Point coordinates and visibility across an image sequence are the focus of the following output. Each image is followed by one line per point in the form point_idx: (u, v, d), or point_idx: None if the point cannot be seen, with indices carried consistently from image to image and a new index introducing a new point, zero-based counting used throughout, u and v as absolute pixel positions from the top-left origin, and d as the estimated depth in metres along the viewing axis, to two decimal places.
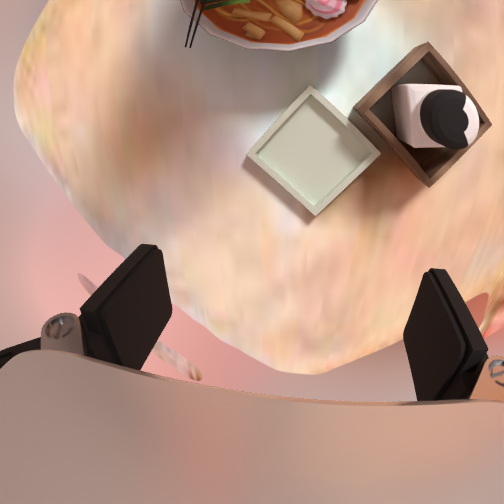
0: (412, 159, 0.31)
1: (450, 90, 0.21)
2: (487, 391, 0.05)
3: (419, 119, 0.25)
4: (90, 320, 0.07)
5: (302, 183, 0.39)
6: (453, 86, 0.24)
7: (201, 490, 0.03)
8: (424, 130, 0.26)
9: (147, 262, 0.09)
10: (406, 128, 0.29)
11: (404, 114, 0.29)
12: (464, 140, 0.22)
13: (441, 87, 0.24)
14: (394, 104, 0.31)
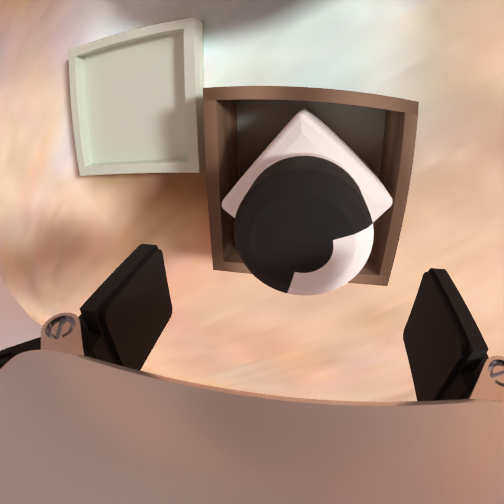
0: (218, 218, 0.20)
1: (348, 188, 0.11)
2: (487, 391, 0.05)
3: (256, 178, 0.15)
4: (90, 320, 0.07)
5: (96, 128, 0.23)
6: (380, 189, 0.15)
7: (201, 490, 0.03)
8: None
9: (147, 262, 0.09)
10: None
11: (262, 152, 0.18)
12: (282, 282, 0.13)
13: (357, 171, 0.15)
14: None
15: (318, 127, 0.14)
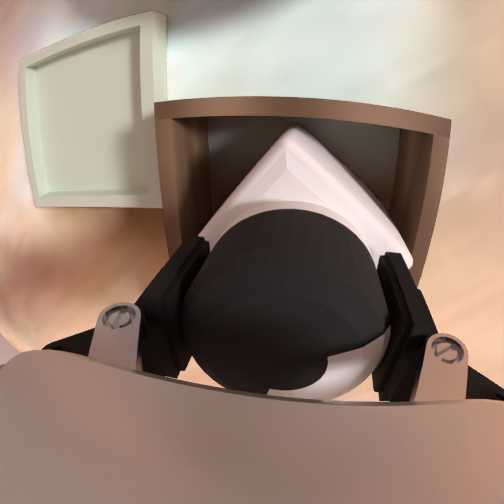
0: None
1: (358, 279, 0.07)
2: (436, 372, 0.05)
3: (218, 239, 0.10)
4: (151, 309, 0.08)
5: (50, 151, 0.18)
6: (398, 247, 0.11)
7: (201, 490, 0.02)
8: None
9: (198, 253, 0.10)
10: None
11: (235, 189, 0.13)
12: None
13: (367, 223, 0.10)
14: (263, 155, 0.16)
15: (312, 159, 0.10)
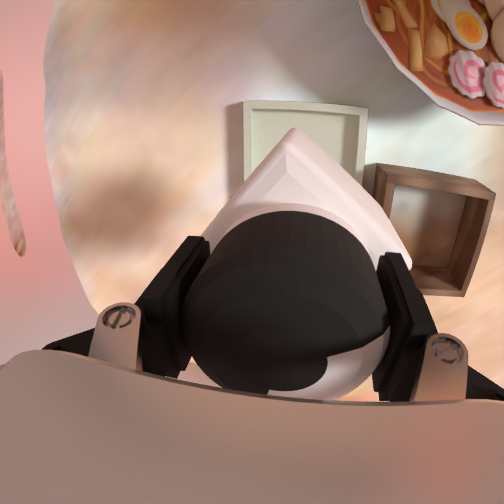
0: None
1: (357, 279, 0.07)
2: (435, 372, 0.05)
3: (218, 241, 0.10)
4: (151, 309, 0.08)
5: None
6: (397, 249, 0.11)
7: (201, 490, 0.03)
8: None
9: (198, 253, 0.10)
10: (212, 221, 0.14)
11: None
12: None
13: (367, 226, 0.11)
14: None
15: (312, 162, 0.10)
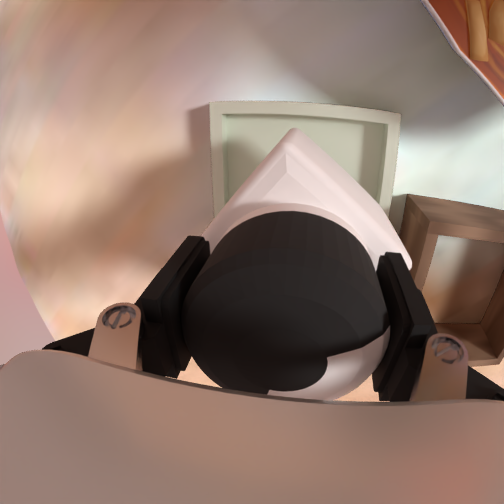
0: None
1: (357, 279, 0.07)
2: (436, 372, 0.05)
3: (218, 241, 0.10)
4: (151, 309, 0.08)
5: None
6: (397, 249, 0.11)
7: (201, 490, 0.03)
8: None
9: (198, 253, 0.10)
10: (212, 221, 0.14)
11: (236, 192, 0.13)
12: None
13: (366, 226, 0.11)
14: None
15: (311, 162, 0.10)
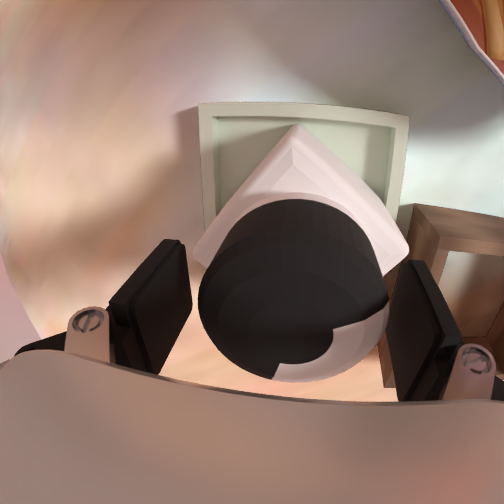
0: None
1: (358, 257, 0.08)
2: (463, 380, 0.05)
3: (230, 227, 0.11)
4: (119, 313, 0.07)
5: None
6: (395, 236, 0.12)
7: (201, 490, 0.02)
8: None
9: (172, 256, 0.10)
10: (221, 211, 0.15)
11: None
12: (263, 372, 0.10)
13: (366, 213, 0.11)
14: (268, 153, 0.17)
15: (315, 155, 0.11)
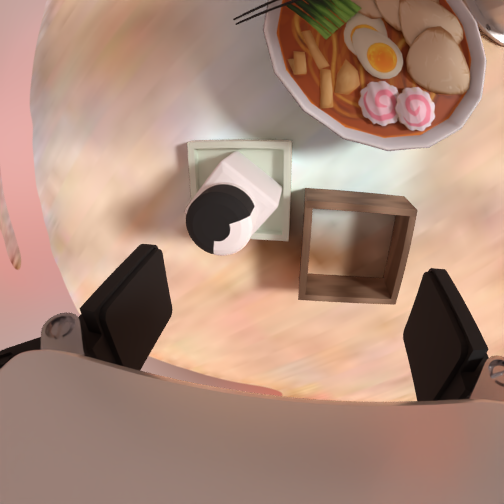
0: (306, 271, 0.35)
1: (235, 199, 0.25)
2: (487, 391, 0.05)
3: None
4: (90, 320, 0.07)
5: None
6: (269, 198, 0.29)
7: (201, 490, 0.03)
8: None
9: (147, 262, 0.09)
10: None
11: None
12: (209, 247, 0.27)
13: (254, 189, 0.29)
14: None
15: (231, 167, 0.29)
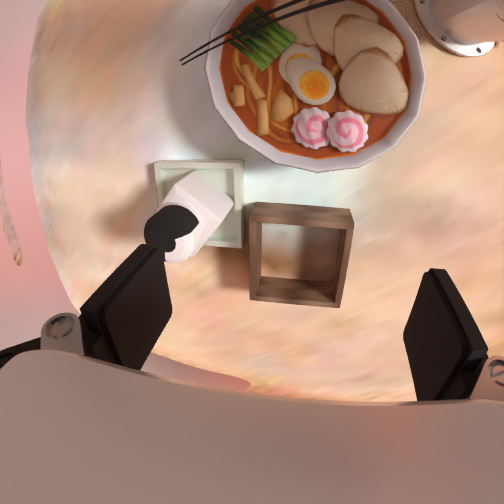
0: (254, 275, 0.41)
1: (179, 219, 0.31)
2: (487, 391, 0.05)
3: None
4: (90, 320, 0.07)
5: None
6: (214, 215, 0.35)
7: (201, 490, 0.03)
8: None
9: (147, 262, 0.09)
10: None
11: None
12: None
13: (201, 208, 0.34)
14: None
15: (182, 189, 0.34)
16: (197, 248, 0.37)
